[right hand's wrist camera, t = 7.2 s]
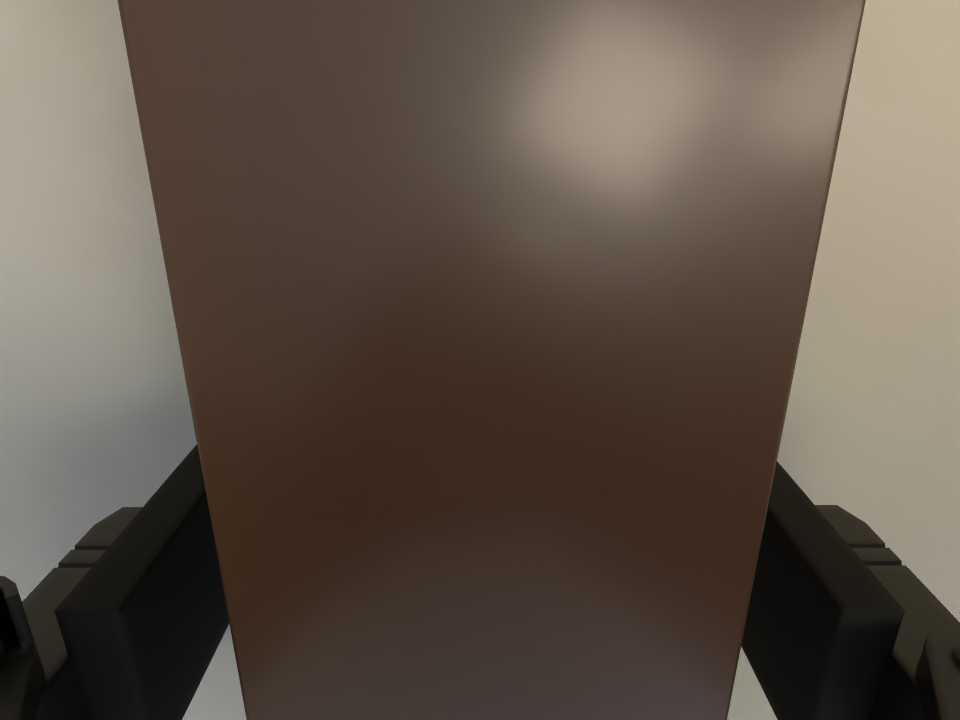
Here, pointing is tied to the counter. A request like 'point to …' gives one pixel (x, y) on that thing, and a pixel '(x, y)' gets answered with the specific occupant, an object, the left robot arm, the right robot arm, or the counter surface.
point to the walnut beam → (489, 333)
